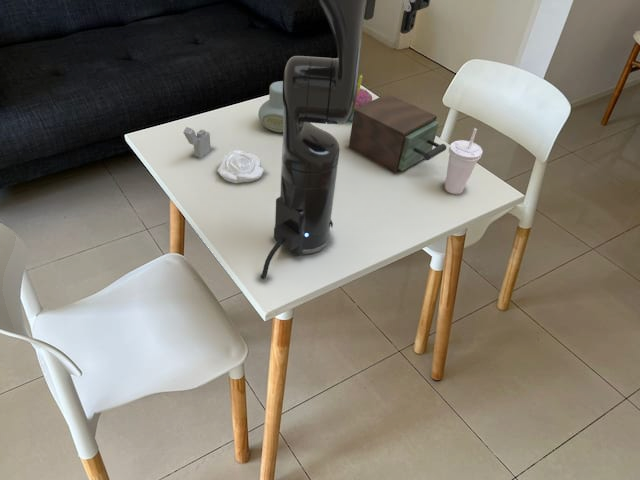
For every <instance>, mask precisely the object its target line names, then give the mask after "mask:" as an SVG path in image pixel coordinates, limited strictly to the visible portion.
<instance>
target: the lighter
mask: <svg viewBox="0 0 640 480" xmlns="http://www.w3.org/2000/svg"><path fill="white" fill-rule="evenodd" d="M182 133H183V135H184V136H185V138H186V140H187V141H188V144H190V145H193V153H194V157H195V158H199V159H202V158H203V157H204V156H205V155H207V154H208V153H209V152H211V150H212V148H211V147H212V145H211V132H210V131H206V130H205V129H200V130H198V131H197V132H195V130H194V129H193V128H191V127H188V126H186V127H185V128H184V130H183V132H182Z"/></svg>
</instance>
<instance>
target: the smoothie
mask: <svg viewBox="0 0 640 480" xmlns="http://www.w3.org/2000/svg"><path fill="white" fill-rule="evenodd" d="M477 130H478V129H477V128H476V127H474V128H473V131H472V134H471V137H470V140H463V139H460V140H454V141H453V142H451V143H450V144H449V147H448V153H449V155H448V162H447V169H446V170H447V171H446V175H445V182H444V190H445V191H446V192H448V193H449V194H453V195H460V194H461V193H463V191H464V189H465V187H466V185H467V183H468V182H469V179H470V177H471V175H472V173H473V171H474V169H475V167H476V165H477V164H478V161H479V160H480V159H481V157H482V155H483V148H482V147H481V145H479V144H477V143H476V142H474V140H475V137H476V134H477V132H478V131H477Z"/></svg>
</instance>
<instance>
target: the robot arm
mask: <svg viewBox="0 0 640 480" xmlns="http://www.w3.org/2000/svg"><path fill="white" fill-rule="evenodd" d="M316 1H317V3H318V4H319V6H320V8H321V10H322V12H323V14H324V16H325V18H326V20H327V22H328V25H329V27H330V30H331V33H332V36H333V39H334V42H335V43H334V44H335V47H336V52H337V57H336V58H335V57H333V58H332V57H322V56H321V57H320V56H308V55H307V56H305V55H294V56H291V57H290V58H289V59H288V60H287V62H286V64H285V66H284V71H283V78H282V81H283V132H282V146H281V147H282V148H281V169H280V171H281V172H280V173H281V174H280V193H279V194H280V196H278V197H277V198H276V199H275V215H274V216H275V217H274V228H273V231H274V232H273V239H274V241H275V242H276V243H275V245H274V246H273V247H272V248H271V250H270V251H269V253H268V255H267V257H266V258H265V261H264V264H263V268H262V273H261V275H260V279H261V280H265V279H266V278H267V275H268V273H269V272H268V271H269V267H270V264H271V261H272V259H273V257H274V256H275V254H276V252H277V251H278V250H279V249H280V247H281V246H282V247H283V248H284V249H286V250H288V251H289V252H290V253H292V254H293V255H295V256H296V257H299V256H301V255H312V254H316V253H318V252H321V251H322V250H324V249H325V248H326V247H327V246H328V244H329V242H330V231H331V228H334V227H333V226H334V223H333V220H332V214H333V213H332V212H333V205H334V198H335V189H336V180H337V173H338V167H339V166H338V165H339V159H340V144H339V142H338V140H337V138H336V137H335V136H334V135H332V134H331V133H329V132H328V131H326V130H324V129H322V128H319V127H318V126H316V125H314V124H324V125H344V124H346V123H349V122H348V121H350V118H351V116H352V114H353V111H354V107H355V102H356V96H357V88H358V82H359V77H360V64H361V53H362V52H361V51H362V42H363V41H362V40H363V30H364V22H365V21H369V20H372V19H373V17H374V14H375V7H376V2H377V0H316ZM430 2H431V0H402V3H403V6H404V10H403V14H402V18H401V25H400V30H399V31H400V33H401V34H404V35H405V34H408V33H410V32H411V31H412V30H413V29H414V28H415V23H416V18H417V13H418V11H420V10H424V9H426V8H428V7H429V6H430ZM364 20H365V21H364Z"/></svg>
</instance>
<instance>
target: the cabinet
mask: <svg viewBox="0 0 640 480" xmlns="http://www.w3.org/2000/svg"><path fill="white" fill-rule="evenodd" d="M437 117H438V116H437V115H436V114H435V113H432V112H429V111H427V110H426V109H425V110H424V109H423V108H420V107H418V106H416V105H414V104H411V103H410V102H407V101H405V100H403V99H400V98H398V97H396V96H394V95H392V94H389V93H386V94H384V95H382V96H380V97H377V98H375V99H372V101H370V102H368V103H366V104H364V105H362V106H360V107H357V108H355V109H354V113H353V120H352V121H351V129H350V136H349V142H348V143H349V144H348V149H351V150H352V151H353V152H355V153H357V154H360V155H361V156H363V157H365V158H367V159H368V160H370V161H372V162H374V163H376V164H377V165H379V166H382V167H383V168H385V169H386V170H389V171H391V172H393V173H394V174H396V173H398V172H400V171H401V170H400V169H398V167H399V162H400V158H401V153H402V149H403V144H404V140H405V136H406V135H408V134H410V133H412V132H413V131H415V130H417V129H419V128H421V127H423V126H425V125H428V124H430V123H431V122H433V121H436V122H437V119H438V118H437Z"/></svg>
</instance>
